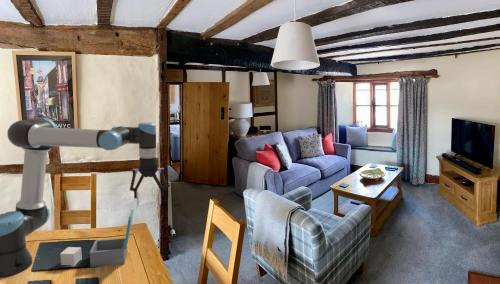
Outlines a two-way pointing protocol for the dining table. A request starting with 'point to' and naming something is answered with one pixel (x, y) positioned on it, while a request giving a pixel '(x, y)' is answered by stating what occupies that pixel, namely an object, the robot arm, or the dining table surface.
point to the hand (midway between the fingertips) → (149, 204)
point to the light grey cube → (71, 256)
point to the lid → (128, 229)
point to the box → (108, 252)
